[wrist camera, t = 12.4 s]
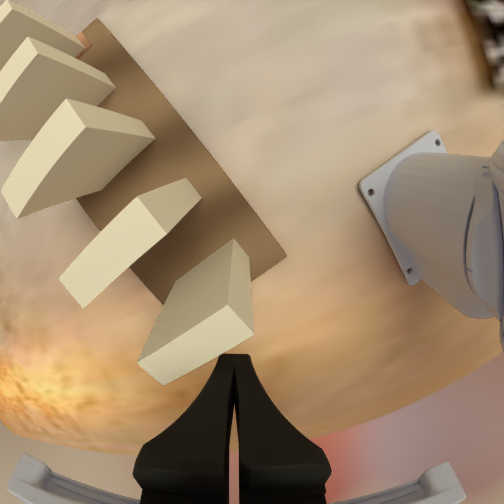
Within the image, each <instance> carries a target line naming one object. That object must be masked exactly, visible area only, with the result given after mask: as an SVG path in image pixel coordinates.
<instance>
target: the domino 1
mask: <svg viewBox="0 0 504 504" xmlns="http://www.w3.org/2000/svg"><path fill="white" fill-rule="evenodd" d="M27 37H31V38H33V39H35V40H38V41H40V42H42V43H45V44H47V45H49V46H51V47H53V48H55V49H58V50H60V51H62V52H64V53H66V54H68V55H70V56H72V57H74V58H75V57H76V56H77V55H78V54H79V53H80V52H81V51H82V50H83V49H84V48H85V47H84V46H83V45H82V43H81V42H80V41H79V39H78V38H77V37H76V36H74V35H72V34H71V33H69V32H67V31H66V30H64V29H62V28H61V27H59V26H57V25H55V24H54V23H52V22H50V21H48V20H47V19H45V18H43V17H41V16H39V15H38V14H36V13H34V12H32V11H30V10H28V9H26V8H24V7H22V6H20V5H18V4H16V3H14V2H12V1H10V0H6V1H5V2H4V3H3V4H2V5H1V6H0V71H1V70H2V69H3V67H4V66H5V64H6V63H7V62H8V60H9V59H10V58H11V56H12V55H13V54H14V52H15V51H16V50H17V49H18V47H19V46H20V45H21V44H22V43H23V41H24V40H25V39H26V38H27Z"/></svg>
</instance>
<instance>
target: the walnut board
mask: <svg viewBox="0 0 504 504" xmlns="http://www.w3.org/2000/svg"><path fill="white" fill-rule="evenodd" d="M76 37H77V38H78V39H79V41H80V42H81V43H82V45H83V46H84V47H85V48H84V49H83V50H82V51H81V52H80V53H79V54H78V55H77V56H76V57H75V58H76V59H78V60H80V61H82V62H84V63H86V64H88V65H90V66H92V67H94V68H96V69H97V70H99V71H101V72H103V73H105V74H106V75H107V77H108V78H109V79H110V81H111V82H112V83H113V84H114V86H115V87H116V89H114V90H113V91H112V92H111V93H110V94H109V95H108V96H107V97H106V98H105V99H104V100H103V101H102V102H101V103H100V104H99V105H98V106H97V107H100V108H103V109H107V110H110V111H113V112H117V113H120V114H123V115H126V116H129V117H132V118H135V119H138V120H141V121H142V122H143V123H144V124H145V126H146V127H147V128H148V130H149V131H150V132H151V133H152V135H153V136H154V137H155V138H156V139H155V140H154V141H152V142H151V143H150V144H149V145H148V146H147V147H146V148H145V149H143V150H142V151H141V152H140V153H139V154H138V155H137V156H136V157H135V158H134V159H133V160H131V161H130V162H129V163H128V164H127V165H126V166H125V167H124V168H123V169H122V170H121V171H120V172H119V173H118V174H117V175H116V176H115V177H114V178H113V179H112V180H111V181H110V182H109V183H108V184H107V185H106V186H105V187H104V188H103V189H102V190H101V191H97V192H94V193H90V194H87V195H84V196H81V197H77V198H76V199H77V200H78V202H79V203H80V204H81V206H82V207H83V209H84V210H85V211H86V213H87V214H88V215H89V217H90V218H91V219H92V221H93V222H94V223H95V225H96V226H97V227H98V229H99V230H100V231H102V230H103V229H104V228H105V227H106V226H107V225H108V224H109V223H110V222H111V221H112V220H113V219H114V218H115V217H116V216H117V215H118V214H119V213H120V212H121V211H122V210H123V209H124V208H125V207H126V206H127V205H128V204H129V203H130V202H131V201H133V200H134V199H135V198H136V197H137V196H139V195H142V194H144V193H147V192H149V191H152V190H154V189H157V188H159V187H162V186H165V185H167V184H170V183H173V182H175V181H178V180H181V179H184V178H187V179H188V181H189V182H190V183H191V184H192V186H193V187H194V188H195V190H196V191H197V192H198V193H199V195H200V196H201V197H202V198H201V199H200V200H199V201H198V202H197V203H196V205H195V206H194V207H193V208H192V209H191V210H190V211H189V212H188V213H187V214H186V215H185V216H184V217H183V218H182V219H181V220H180V221H179V222H178V223H177V224H176V225H175V226H174V227H173V228H172V229H171V230H170V231H169V233H168V234H167V235H165V236H164V237H163V238H162V239H161V240H159V241H158V242H157V243H156V244H155V245H153V246H152V247H151V248H150V249H149V250H148V251H146V252H145V253H144V254H143V255H142V256H141V257H139V258H138V259H137V260H136V261H135V262H134V263H133V264H131V265H130V266H129V267H130V268H131V269H132V270H133V272H134V273H135V274H136V275H137V276H138V277H139V279H140V280H141V281H142V282H143V283H144V284H145V285H146V287H147V288H148V289H149V290H150V291H151V292H152V293H153V294H154V295H155V297H156V298H157V299H158V300H159V301H160V302H161V303H162V304H163V305H164V304H165V301H166V299H167V297H168V295H169V293H170V291H171V289H172V287H173V285H174V283H175V281H177V280H178V279H179V278H181V277H182V276H183V275H185V274H186V273H187V272H189V271H190V270H191V269H193V268H194V267H195V266H197V265H198V264H199V263H201V262H202V261H203V260H205V259H206V258H207V257H209V256H210V255H211V254H213V253H214V252H215V251H217V250H218V249H219V248H221V247H222V246H224V245H225V244H226V243H228V242H229V241H230V240H232V239H233V238H234V239H235V240H236V241H237V243H238V244H239V245H240V246H241V248H242V249H243V250H244V252H245V253H246V254H247V255H248V257H249V264H250V278H251V281H252V280H254V279H255V278H257V277H258V276H260V275H261V274H263V273H264V272H266V271H267V270H268V269H270V268H271V267H273V266H274V265H276V264H277V263H279V262H280V261H281V260H283V259H284V258H286V257H287V255H286V253H285V252H284V250H283V249H282V248H281V246H280V245H279V244H278V242H277V241H276V240H275V238H274V237H273V235H272V234H271V233H270V231H269V230H268V229H267V227H266V226H265V225H264V223H263V222H262V221H261V219H260V218H259V217H258V215H257V214H256V213H255V211H254V210H253V209H252V207H251V206H250V205H249V204H248V202H247V201H246V200H245V198H244V197H243V196H242V194H241V193H240V192H239V190H238V189H237V188H236V186H235V185H234V184H233V183H232V181H231V180H230V179H229V177H228V176H227V175H226V173H225V172H224V171H223V170H222V168H221V167H220V166H219V164H218V163H217V162H216V161H215V159H214V158H213V157H212V155H211V154H210V153H209V152H208V150H207V149H206V148H205V147H204V145H203V144H202V143H201V142H200V140H199V139H198V138H197V136H196V135H195V134H194V133H193V131H192V130H191V129H190V128H189V126H188V125H187V124H186V123H185V121H184V120H183V119H182V118H181V116H180V115H179V114H178V113H177V111H176V110H175V109H174V108H173V107H172V105H171V104H170V103H169V102H168V100H167V99H166V98H165V97H164V95H163V94H162V93H161V92H160V91H159V89H158V88H157V87H156V86H155V85H154V83H153V82H152V81H151V80H150V78H149V77H148V76H147V75H146V74H145V72H144V71H143V70H142V69H141V68H140V67H139V65H138V64H137V63H136V62H135V61H134V59H133V58H132V57H131V56H130V55H129V53H128V52H127V51H126V50H125V49H124V48H123V46H122V45H121V44H120V43H119V42H118V41H117V39H116V38H115V37H114V36H113V35H112V34H111V33H110V31H109V30H108V29H107V28H106V27H105V26H104V25H103V23H102V22H101V21H100V20H99V19H98V18H96V19H95V20H94V21H93V22H92V23H91V24H89V25H88V26H87V27H86V28H85V29H84V30H83V31H82V32H80V33H79V34H78V35H77V36H76Z"/></svg>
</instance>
